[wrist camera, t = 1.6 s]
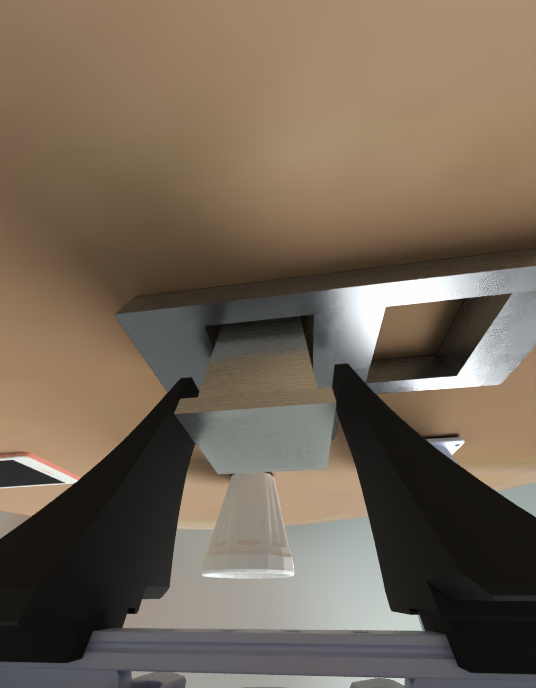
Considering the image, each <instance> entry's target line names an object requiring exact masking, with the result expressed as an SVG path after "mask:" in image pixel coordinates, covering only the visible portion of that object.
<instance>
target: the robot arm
mask: <svg viewBox="0 0 536 688" xmlns="http://www.w3.org/2000/svg"><path fill="white" fill-rule="evenodd" d="M332 390H333V393H334V396H335V399H336V412H337V415H338V417H339V420H340V423H341V426H342V429H343V431H344V434H345V437H346V440H347V442H348V445H349V448H350V451H351V453H352V456H353V459H354V462H355V466H356V469H357V473H358V477H359V481H360V484H361V488H362V492H363V496H364V500H365V504H366V508H367V512H368V516H369V520H370V524H371V529H372V533H373V537H374V541H375V546H376V550H377V555H378V559H379V564H380V568H381V573H382V578H383V582H384V587H385V592H386V595H387V599H388V602H389V606H390V609H391V611H394V612H399V613H405V614H410V615H418V617H419V620H420V624H421V627H422V630H423V631H373V630H370V631H369V630H363V631H362V630H267V629H265V630H264V629H263V630H261V629H156V628H154V629H153V628H148V629H147V628H146V629H145V628H122V627H123V624H124V621H125V618H126V615H127V614H136V613H137V612H138V610H139V607H140V604H141V600H142V599H160V598H161V597H162V596H163V595H164V594H165V593H166V592H167V590H168V589H169V587H170V577H171V568H172V559H173V551H174V550H173V549H174V543H175V536H176V530H177V523H178V516H179V511H180V505H181V499H182V494H183V489H184V484H185V478H186V474H187V470H188V466H189V462H190V459H191V456H192V452H193V449H194V445H195V442H194V441H193V439H192V438H191V437H190V435H189V434H188V433H187V431H186V430H185V428H184V427H183V426H182V424H181V423H180V422H179V420H178V419H177V418H176V416H175V415H174V413H175V410H176V408H177V406H178V403H179V401H180V399H184V398H197V397H198V395H199V392H200V391H199V390H198V388H197V386H196V384H195V382H194V380H193V378H192V377H188V378H180V379H179V380H178V381H177V383H176V384H175V385H174V386H173V387H172V388H171V389H170V391H169V392H168V393H167V394H166V395H165V396H164V397H163V399H162V400H161V401H160V402H159V403H158V404H157V405H156V406H155V408H154V409H153V410H152V411H151V412H150V413H149V414H148V415H147V416H146V418H145V419H144V420H143V421H142V422H141V423H140V424H139V425H138V426H137V427H136V428H135V429H134V430H133V431H132V432H131V433H130V434H129V435H128V436H127V437H126V438H125V439H124V440H123V441H122V442H121V443H120V444H119V445H118V446H117V447H116V448H115V449H114V450H113V451H112V452H110V453H109V454H108V455H107V456H106V457H105V458H104V459H103V460H102V461H101V462H99V463H98V464H97V465H96V466H95V467H93V468H92V469H91V470H90V471H89V472H88V473H86V474H85V475H84V476H83V477H82V478H80V479H79V480H78V481H77V482H76V483H74V484H73V485H72V486H71V487H70V488H68V489H67V490H66V491H64V492H63V493H62V494H61V495H59V496H58V497H57V498H56V499H54V500H53V501H52V502H50V503H49V504H48V505H46V506H45V507H44V508H42V509H41V510H40V511H38V512H37V513H36V514H34V515H33V516H32V517H30V518H29V519H28V520H26V521H25V522H23V523H22V524H21V525H19V526H18V527H16V528H15V529H14V530H12V531H11V532H9V533H8V534H7V535H5V536H4V537H2V538H1V539H0V688H185V684H186V679H185V677H184V676H181V675H179V674H176V673H173V672H192V673H230V674H267V675H306V676H344V677H382V678H375V679H369V680H364V681H358V682H353V683H352V684H351V687H350V688H536V517H534V516H533V515H531V514H530V513H528V512H527V511H525V510H523V509H522V508H520V507H518V506H517V505H515V504H514V503H512V502H511V501H509V500H508V499H506V498H505V497H504V496H502V495H501V494H499V493H498V492H496V491H495V490H493V489H492V488H490V487H489V486H487V485H486V484H485V483H483V482H482V481H480V480H479V479H477V478H476V477H475V476H473V475H472V474H471V473H469V472H468V471H466V470H465V469H464V468H462V467H461V466H460V465H458V463H457V462H456V460H455V459H454V457H453V456H452V454H453V453H454V452H455V451H456V450H457V449H458V448H459V447H460V446H461V445H462V444H463V443H464V442H465V441H464V440H463V438H461V437H453V438H435V439H424V438H423V437H422V436H421V435H419V434H418V433H417V432H416V431H415V430H413V429H412V428H411V427H410V426H409V425H408V424H407V423H405V422H404V421H403V420H402V419H401V418H400V417H399V416H398V415H397V414H396V413H395V412H393V411H392V410H391V409H390V408H389V407H388V406H387V405H386V404H385V403H384V402H383V401H382V400H381V399H380V398H379V397H378V396H377V395H376V394H375V393H374V392H373V391H372V390H371V389H370V388H369V386H368V385H367V384H366V383H365V382H364V381H363V380H362V379H361V378H360V377H359V375H358V374H357V373H356V372H355V371H354V370H353V369H352V367H351V366H350V365H349V364H348V363H345V364H335V365H334V374H333V383H332ZM131 671H153V673H150V674H147V675H143V676H140V677H137V678H134V679H132V677H131ZM383 677H384V678H383ZM385 678H405V686H403V685H402V684H400V683H397V682H396V681H393V680H390V679H385ZM246 688H280V687H246Z"/></svg>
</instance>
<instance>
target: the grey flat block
mask: <svg viewBox="0 0 536 688" xmlns="http://www.w3.org/2000/svg"><path fill="white" fill-rule="evenodd" d="M462 298H466V299H465V301H464V303H463V305H462V307H461V308H460V310H459V312H458V314H457V316H456V318H455V320H454V322H453V324H452V326H451V327H450V329H449V331H448V333H447V335H446V337H445V339H444V341H443V343H442V344H441V346H440V348H439V350H438V352H437V354H436V355H432V356H420V357H409V358H397V359H386V360H374V361H371V360H372V356H373V353H374V349H375V345H376V341H377V338H378V334H379V330H380V326H381V323H382V319H383V315H384V311H385V308H386V307H387V306H397V305H406V304H415V303H425V302H434V301H444V300H453V299H462ZM114 315H115V317H116V318H117V320H118V321H119V322H120V324H121V325H122V327H123V328H124V330H125V331H126V333H127V334H128V336H129V337H130V338H131V340H132V341H133V343H134V344H135V346H136V347H137V349H138V350H139V352H140V353H141V354H142V356H143V357H144V359H145V360H146V362H147V363H148V365H149V366H150V368H151V369H152V370H153V372H154V373H155V375H156V376H157V378H158V379H159V381H160V382H161V384H162V385H163V386H164V388H165V389H166V391H167V392H169V391H170V389H171V388H172V387H173V386H174V385H175V384H176V383H177V381H178V380H179V379H180V378H188V377H192V378H193V380H194V382H195V384H196V386H197V388H198V390H199V391H200V389H201V386H202V383H203V380H204V377H205V374H206V371H207V368H208V365H209V362H210V359H211V356H212V353H213V350H214V347H215V344H216V341H217V338H218V335H219V332H220V328H219V324H228V323H238V322H247V321H256V320H266V319H275V318H285V317H294V316H303V315H308V352H309V356H310V360H311V365H312V369H313V373H314V377H315V381H316V385H317V388H325V387H332V383H333V374H334V365H335V364H345V363H348V364H349V365H350V366H351V367H352V369H353V370H354V371H355V372H356V373H357V374H358V375H359V377H360V378H361V379H362V380H363V381H364V382H365V383H366V384H367V385H368V386H369V388H370V389H371V390H372V391H373V392H374V393H375V394H380V393H394V392H407V391H420V390H434V389H447V388H460V387H474V386H487V385H500V384H501V383H502V382H503V381H504V380H505V379H506V378H507V377H508V376H509V374H510V373H511V372H512V371H513V370H514V369H515V368H516V367H517V366H518V364H519V363H520V362H521V361H522V360H523V359H524V358H525V357H526V356H527V355H528V353H529V352H530V351H531V350H532V349H533V348H534V347H535V346H536V248H533V249H525V250H517V251H508V252H500V253H492V254H484V255H476V256H467V257H459V258H451V259H443V260H435V261H426V262H418V263H410V264H402V265H394V266H385V267H377V268H369V269H361V270H353V271H344V272H336V273H328V274H320V275H312V276H303V277H295V278H287V279H279V280H270V281H262V282H254V283H246V284H238V285H229V286H221V287H213V288H205V289H197V290H188V291H180V292H172V293H164V294H156V295H147V296H139V297H135V298H133V299H132V300H131V301H130V302H129V303H127V304H126V305H125V306H124V307H123V308H121V309H120V310H119V311H118V312H117V313H115V314H114Z"/></svg>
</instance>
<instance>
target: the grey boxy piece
mask: <svg viewBox="0 0 536 688" xmlns="http://www.w3.org/2000/svg"><path fill="white" fill-rule="evenodd" d="M335 409H336V399H335V396H334V393H333V390H332V387H325V388H317V385H316V381H315V377H314V373H313V369H312V365H311V360H310V356H309V352H308V348H307V344H306V340H305V336H304V331H303V327H302V323H301V319H300V316H294V317H285V318H275V319H266V320H256V321H247V322H238V323H228V324H222V326H221V329H220V332H219V335H218V338H217V341H216V344H215V347H214V350H213V353H212V356H211V359H210V362H209V365H208V368H207V371H206V374H205V377H204V380H203V383H202V386H201V389H200V392H199V395H198V397H197V398H184V399H180V401H179V403H178V406H177V408H176V410H175V413H174V415H175V416H176V418H177V419H178V420H179V422H180V423H181V424H182V426H183V427H184V428H185V430H186V431H187V433H188V434H189V435H190V437H191V438H192V439H193V441H194V442H195V443H196V445H197V446H198V448H199V449H200V450H201V452H202V453H203V454H204V456H205V457H206V458H207V460H208V461H209V462H210V464H211V465H212V467H213V468H214V469H215V471H216V472H217V473H218V474H235V473H256V472H277V471H299V470H320V469H327V464H328V457H329V450H330V444H331V437H332V430H333V423H334V416H335Z"/></svg>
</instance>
